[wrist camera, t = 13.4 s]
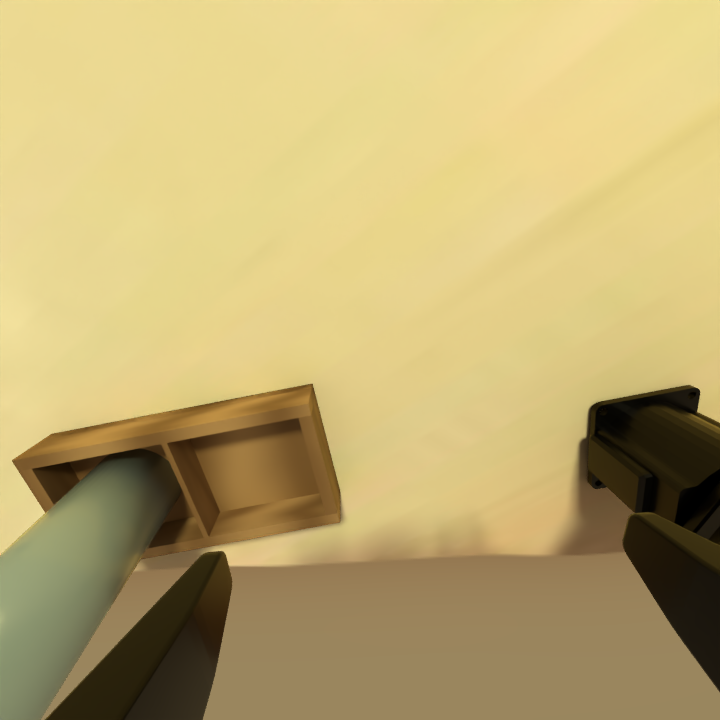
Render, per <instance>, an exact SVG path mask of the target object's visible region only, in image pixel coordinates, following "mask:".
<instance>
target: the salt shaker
mask: <svg viewBox="0 0 720 720" xmlns="http://www.w3.org/2000/svg"><path fill="white" fill-rule="evenodd" d="M181 490H182V489H181V486H180V484H179V482H178V480H177V478H176V475H175V473H174V471H173V469H172V467H171V464H170V462H169V461H168V460H166V459H165V458H164V457H162V456H160V455H159V454H157V453H154V452H152V451H149V450H145V449H139V448H138V449H133V450H128V451H123V452H117V453H112V454H109V455H108V456H106V457H105V458H104V459H103V460H102V461H101V462H100V463H99V464H98V465H96V466H95V467H94V468H93V469H92V470H91V471H90V472H89V473H88V474H87V475H86V476H85V477H84V478H82V479H81V480H80V481H79V482H78V483H77V484H76V485H75V486H74V487H73V488H72V489H71V490H70V491H68V492H67V493H66V494H65V495H64V496H63V497H62V498H61V499H60V500H59V501H58V502H57V503H56V504H55V505H53V506H52V507H51V508H50V509H49V510H48V511H47V512H46V513H45V514H44V515H43V516H42V517H41V518H39V519H38V520H37V521H36V522H35V523H34V524H33V525H32V526H31V527H30V528H29V529H28V530H27V531H26V532H24V533H23V534H22V535H21V536H20V537H19V538H18V539H17V540H16V541H15V542H14V543H13V544H12V545H10V546H9V547H8V548H7V549H6V550H5V551H4V552H3V553H2V554H1V555H0V720H41V718H42V717H43V715H44V713H45V712H46V710H47V708H48V707H49V705H50V704H51V702H52V701H53V699H54V697H55V696H56V694H57V693H58V691H59V689H60V688H61V686H62V685H63V683H64V681H65V680H66V678H67V677H68V675H69V673H70V672H71V670H72V668H73V667H74V665H75V664H76V662H77V661H78V659H79V657H80V656H81V654H82V652H83V651H84V649H85V648H86V646H87V644H88V643H89V641H90V640H91V638H92V636H93V635H94V633H95V632H96V630H97V628H98V627H99V625H100V624H101V622H102V620H103V619H104V617H105V616H106V614H107V612H108V611H109V609H110V608H111V606H112V604H113V603H114V601H115V600H116V598H117V596H118V595H119V593H120V592H121V590H122V588H123V587H124V585H125V584H126V582H127V580H128V579H129V577H130V575H131V574H132V572H133V571H134V569H135V568H136V566H137V564H138V563H139V561H140V560H141V558H142V556H143V555H144V553H145V551H146V550H147V548H148V547H149V545H150V543H151V542H152V540H153V539H154V537H155V535H156V534H157V532H158V531H159V529H160V527H161V526H162V524H163V523H164V521H165V519H166V518H167V516H168V515H169V513H170V511H171V510H172V508H173V507H174V505H175V503H176V502H177V500H178V498H179V497H180V494H181Z"/></svg>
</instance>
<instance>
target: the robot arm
mask: <svg viewBox="0 0 720 720" xmlns="http://www.w3.org/2000/svg"><path fill="white" fill-rule="evenodd" d="M699 397H700V390H699V389H698V388H695V387H693V386H691V385H686V386H681V387H675V388H670V389H665V390H659V391H654V392H649V393H644V394H638V395H633V396H628V397H622V398H617V399H612V400H607V401H601V402H598V403H596V404H594V405H593V407H592V409H591V423H590V438H589V450H588V483H589V484H590V485H591V486H592V487H593V488H595V489H600V488H605V487H608V488H609V489H610V490H611V491H612V492H613V493H614V494H615V495H616V496H617V497H618V498H619V499H621V500H622V501H623V502H624V503H625V504H626V505H627V506H628V507H629V508H630V509H631V510H632V511H633V512H635V513H634V514H631V515H630V516H629V518H628V521H627V525H626V529H625V533H624V537H623V547H624V550H625V552H626V554H627V556H628V557H629V559H630V560H631V562H632V564H633V565H634V567H635V568H636V570H637V571H638V573H639V575H640V576H641V578H642V580H643V581H644V583H645V584H646V586H647V588H648V589H649V591H650V592H651V594H652V595H653V597H654V599H655V600H656V602H657V603H658V605H659V607H660V608H661V610H662V611H663V613H664V615H665V616H666V618H667V619H668V621H669V622H670V624H671V625H672V627H673V628H674V630H675V631H676V633H677V634H678V636H679V637H680V638H681V640H682V641H683V643H684V644H685V645H686V647H687V648H688V649H689V651H690V652H691V654H692V655H693V656H694V658H695V659H696V660H697V661H698V663H699V664H700V666H701V667H702V669H703V670H704V671H705V673H706V674H707V675H708V677H709V678H710V679H711V681H712V682H713V684H714V685H715V686H716V688H717V689H718V690H719V692H720V423H719V422H717V421H715V420H713V419H711V418H709V417H707V416H704V415H702V414H700V413H698V412H697V409H698V403H699ZM601 409H603V410H602V411H601V412H600V410H601ZM231 590H232V577H231V573H230V569H229V565H228V562H227V558H226V555H225V553H224V552H223V551H217V552H207V553H204V554H203V555H202V556H200V557H199V559H198V560H197V561H196V562H195V563H194V564H193V565H192V566H191V567H190V568H189V569H188V570H187V571H186V572H185V573H184V574H183V575H182V576H181V577H180V579H179V580H178V581H177V582H176V583H175V584H174V585H173V586H172V587H171V588H170V589H169V590H168V591H167V592H166V593H165V594H164V595H163V596H162V597H161V598H160V600H159V601H158V602H157V603H156V604H155V605H154V606H153V607H152V608H151V609H150V610H149V611H148V612H147V613H146V614H145V615H144V616H143V617H142V618H141V619H140V620H139V622H138V623H137V624H136V625H135V626H134V627H133V628H132V629H131V630H130V631H129V632H128V633H127V634H126V635H125V636H124V637H123V638H122V639H121V640H120V641H119V642H118V644H117V645H116V646H115V647H114V648H113V649H112V650H111V651H110V652H109V653H108V654H107V655H106V656H105V657H104V658H103V659H102V660H101V661H100V662H99V663H98V665H97V666H96V667H95V668H94V669H93V670H92V671H91V672H90V673H89V674H88V675H87V676H86V677H85V678H84V679H83V680H82V681H81V682H80V684H79V685H78V686H77V687H76V688H75V689H74V690H73V691H72V692H71V693H70V694H69V695H68V696H67V697H66V698H65V699H64V700H63V701H62V702H61V704H59V706H58V707H57V708H56V709H55V710H54V711H53V712H52V713H51V714H50V715H49V716H48V717H47V718H46V719H45V720H203V716H204V713H205V709H206V706H207V702H208V699H209V695H210V691H211V688H212V684H213V680H214V677H215V672H216V667H217V663H218V658H219V652H220V647H221V642H222V637H223V632H224V626H225V621H226V616H227V611H228V606H229V601H230V595H231Z"/></svg>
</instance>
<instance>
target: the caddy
mask: <svg viewBox="0 0 720 720" xmlns="http://www.w3.org/2000/svg"><path fill="white" fill-rule="evenodd" d="M138 448H139V449H145V450H149V451H152V452H154V453H157V454H159V455H160V456H162V457H164V458H165V459H166V460H168V461H169V462H170V464H171V467H172V469H173V471H174V473H175V475H176V478H177V480H178V482H179V484H180V486H181V489H182V490H181V494H180V497H179V498H178V500H177V502H176V503H175V505H174V507H173V508H172V510H171V511H170V513H169V515H168V516H167V518H166V519H165V521H164V523H163V524H162V526H161V527H160V529H159V531H158V532H157V534H156V535H155V537H154V539H153V540H152V542H151V543H150V545H149V547H148V548H147V550H146V551H145V553H144V555H143V556H142V558H141V559H145V558H150V557H155V556H161V555H166V554H172V553H177V552H182V551H188V550H193V549H198V548H204V547H209V546H215V545H220V544H225V543H231V542H236V541H241V540H247V539H252V538H258V537H263V536H268V535H274V534H279V533H284V532H290V531H295V530H301V529H306V528H311V527H317V526H322V525H328V524H333V523H338V522H340V489H339V485H338V481H337V477H336V474H335V470H334V466H333V462H332V458H331V454H330V450H329V446H328V443H327V439H326V435H325V431H324V427H323V423H322V419H321V415H320V411H319V408H318V404H317V400H316V396H315V392H314V388H313V384H308V385H303V386H298V387H293V388H288V389H282V390H277V391H272V392H267V393H262V394H256V395H251V396H246V397H241V398H236V399H231V400H225V401H220V402H215V403H210V404H205V405H199V406H194V407H189V408H184V409H179V410H174V411H168V412H163V413H158V414H153V415H148V416H142V417H137V418H132V419H127V420H122V421H117V422H111V423H106V424H101V425H96V426H91V427H85V428H80V429H75V430H70V431H65V432H60V433H54V434H51V435H49V436H48V437H46V438H45V439H43V440H42V441H40V442H39V443H37V444H36V445H34V446H33V447H31V448H30V449H28V450H27V451H25V452H24V453H22V454H21V455H19V456H18V457H16V458H15V459H13V460H12V462H13V463H14V465H15V466H16V468H17V469H18V471H19V473H20V474H21V476H22V477H23V479H24V480H25V482H26V483H27V485H28V487H29V488H30V490H31V491H32V493H33V494H34V496H35V497H36V499H37V501H38V502H39V504H40V505H41V507H42V508H43V510H44V511H45V513H46V512H47V511H48V510H49V509H50V508H51V507H52V506H53V505H55V504H56V503H57V502H58V501H59V500H60V499H61V498H62V497H63V496H64V495H65V494H66V493H67V492H68V491H70V490H71V489H72V488H73V487H74V486H75V485H76V484H77V483H78V482H79V481H80V480H81V479H82V478H84V477H85V476H86V475H87V474H88V473H89V472H90V471H91V470H92V469H93V468H94V467H95V466H96V465H98V464H99V463H100V462H101V461H102V460H103V459H104V458H105V457H106V456H108V455H109V454H112V453H117V452H123V451H128V450H133V449H138Z"/></svg>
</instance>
